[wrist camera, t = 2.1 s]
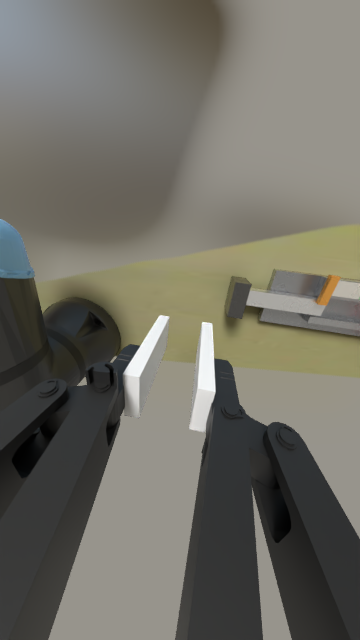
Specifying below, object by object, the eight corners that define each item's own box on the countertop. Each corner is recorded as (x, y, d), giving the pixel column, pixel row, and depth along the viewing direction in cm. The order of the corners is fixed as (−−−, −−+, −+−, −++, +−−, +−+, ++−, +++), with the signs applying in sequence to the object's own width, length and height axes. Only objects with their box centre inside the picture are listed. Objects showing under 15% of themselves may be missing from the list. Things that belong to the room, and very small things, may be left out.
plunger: (224, 306, 28) (227, 316, 24) (235, 261, 25) (239, 265, 21) (309, 319, 27) (326, 331, 23) (331, 273, 24) (354, 280, 20)
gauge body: (257, 317, 29) (265, 330, 25) (274, 268, 26) (286, 274, 22) (387, 337, 28) (417, 354, 24) (422, 288, 24) (465, 298, 20)
